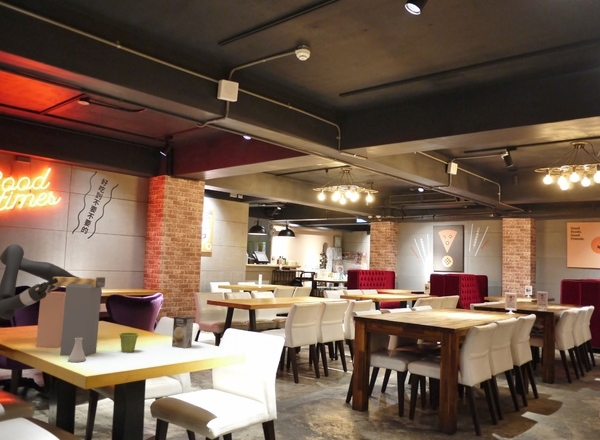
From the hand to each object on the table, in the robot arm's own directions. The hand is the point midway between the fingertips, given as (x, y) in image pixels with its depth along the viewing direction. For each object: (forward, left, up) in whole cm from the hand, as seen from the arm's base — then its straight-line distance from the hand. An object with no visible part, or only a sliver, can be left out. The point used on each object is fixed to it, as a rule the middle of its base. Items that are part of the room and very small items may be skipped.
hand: (62, 279), depth 238 cm
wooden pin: (-5, +6, -3) cm, 9 cm away
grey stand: (-7, +9, -35) cm, 37 cm away
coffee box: (-59, +17, -35) cm, 71 cm away
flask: (0, +25, -35) cm, 43 cm away
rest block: (-5, -19, -35) cm, 40 cm away
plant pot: (-29, +15, -35) cm, 48 cm away
